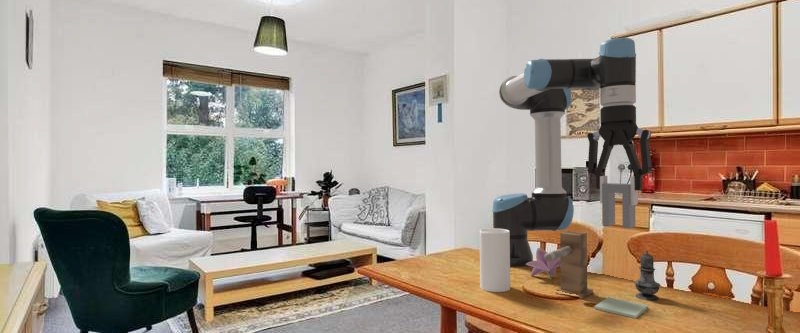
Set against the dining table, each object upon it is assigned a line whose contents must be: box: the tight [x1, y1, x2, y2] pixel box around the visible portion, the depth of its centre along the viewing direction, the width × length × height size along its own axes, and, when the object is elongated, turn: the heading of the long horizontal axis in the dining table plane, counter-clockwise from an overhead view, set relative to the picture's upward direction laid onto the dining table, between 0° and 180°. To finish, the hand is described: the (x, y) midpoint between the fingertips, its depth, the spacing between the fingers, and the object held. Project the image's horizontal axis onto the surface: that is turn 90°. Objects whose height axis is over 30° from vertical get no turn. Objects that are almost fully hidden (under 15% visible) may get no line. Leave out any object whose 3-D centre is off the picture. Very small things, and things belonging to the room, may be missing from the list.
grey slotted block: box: [601, 182, 636, 229], centre depth 101 cm, size 4×6×10 cm, turn 44°
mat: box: [593, 296, 649, 319], centre depth 101 cm, size 9×9×1 cm
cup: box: [479, 227, 511, 293], centre depth 119 cm, size 8×8×16 cm
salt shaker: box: [633, 250, 662, 302], centre depth 109 cm, size 6×6×12 cm
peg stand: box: [544, 230, 594, 300], centre depth 109 cm, size 19×7×16 cm, turn 135°
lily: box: [525, 247, 561, 282], centre depth 125 cm, size 12×12×10 cm
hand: (618, 203), depth 101 cm, fingers closed on grey slotted block, 6 cm apart
